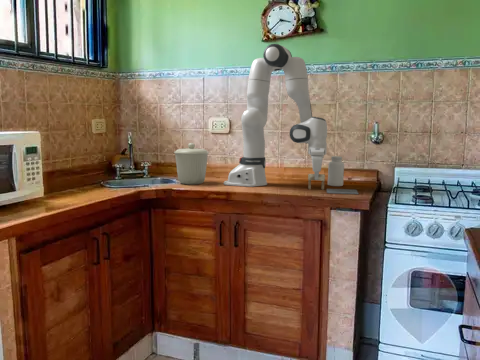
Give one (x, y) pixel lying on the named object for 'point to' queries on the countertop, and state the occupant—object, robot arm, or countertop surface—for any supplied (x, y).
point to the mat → (342, 191)
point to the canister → (191, 164)
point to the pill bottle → (336, 171)
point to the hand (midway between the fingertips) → (316, 178)
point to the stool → (312, 177)
